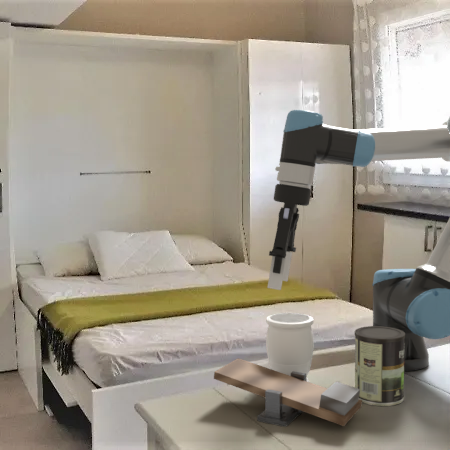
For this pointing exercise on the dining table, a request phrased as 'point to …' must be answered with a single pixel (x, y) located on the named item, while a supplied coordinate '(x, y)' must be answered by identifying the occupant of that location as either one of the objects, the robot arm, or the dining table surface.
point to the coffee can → (379, 365)
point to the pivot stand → (279, 407)
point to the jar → (290, 342)
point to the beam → (294, 390)
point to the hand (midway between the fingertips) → (278, 284)
